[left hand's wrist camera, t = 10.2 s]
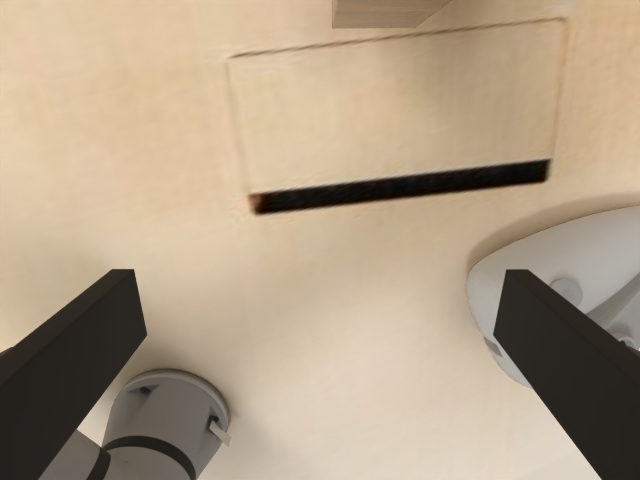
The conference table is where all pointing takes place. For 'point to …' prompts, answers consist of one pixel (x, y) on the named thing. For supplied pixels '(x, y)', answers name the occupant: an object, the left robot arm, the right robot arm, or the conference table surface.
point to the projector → (569, 275)
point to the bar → (383, 13)
